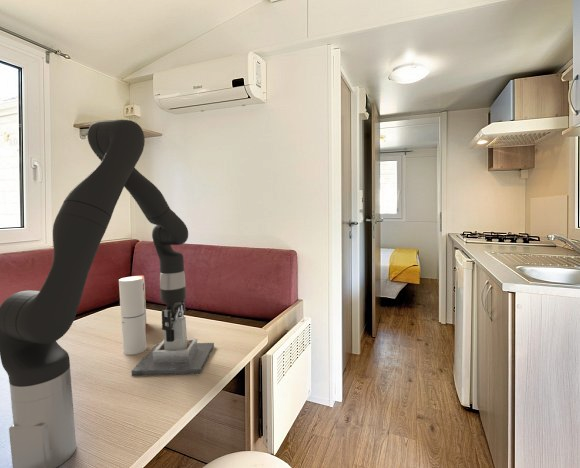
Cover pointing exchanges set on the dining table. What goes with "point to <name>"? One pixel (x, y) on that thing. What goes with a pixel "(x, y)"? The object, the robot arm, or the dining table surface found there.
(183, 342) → the skincare box
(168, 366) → the duct plate
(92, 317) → the dining table surface
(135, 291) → the cylindrical container
